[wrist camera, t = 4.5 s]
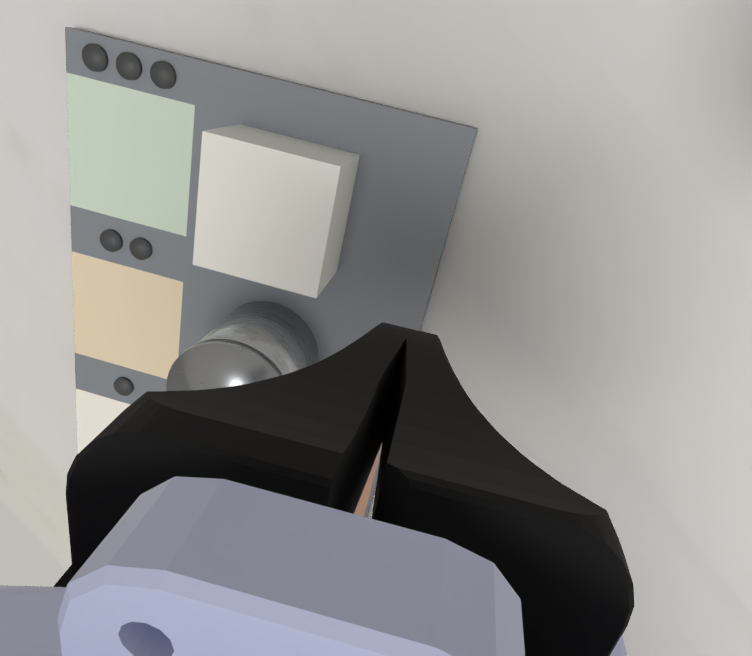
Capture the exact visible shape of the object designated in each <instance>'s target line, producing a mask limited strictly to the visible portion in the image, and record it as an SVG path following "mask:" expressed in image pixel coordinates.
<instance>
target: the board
mask: <svg viewBox="0 0 752 656" xmlns="http://www.w3.org/2000/svg"><path fill="white" fill-rule="evenodd" d="M65 36H66V70H67V104H68V138H69V172H70V205H71V239H72V273H73V307H74V340H75V374H76V408H77V442H78V453H80V452H81V451H82V450H83V449H84V448H85V447H86V446H87V445H88V444H89V443H90V442H91V441H92V440H93V439H94V438H95V437H96V436H97V435H99V434H100V433H101V432H102V431H103V430H104V429H105V428H106V427H107V426H108V425H109V424H110V423H111V422H112V421H113V420H114V419H115V418H116V417H117V416H118V415H120V414H121V413H122V412H123V411H124V410H125V409H126V408H127V407H128V406H130V405H131V404H132V403H133V402H135V401H136V400H137V399H138V398H139V397H141V396H142V395H143V394H144V393H146V392H147V391H166V383H167V377H168V373H169V370H170V368H171V366H172V364H173V363H174V362H175V360H176V359H177V358H178V357H179V356H180V355H181V354H182V353H183V352H184V351H185V350H187V349H188V348H189V347H191V346H192V345H194V344H196V343H198V342H199V341H201V340H202V339H203V338H204V337H205V336H206V335H207V334H208V333H209V332H210V331H211V330H212V329H213V328H215V327H216V326H217V325H218V324H219V323H220V322H221V321H222V320H223V319H224V318H225V317H226V316H227V315H229V314H230V313H231V312H232V311H233V310H234V309H236V308H237V307H239V306H241V305H243V304H246V303H249V302H254V301H268V302H273V303H277V304H280V305H282V306H284V307H287V308H289V309H290V310H292V311H293V312H295V313H296V314H297V315H299V316H300V317H301V318H302V319H303V320H304V321H305V322H306V324H307V325H308V326H309V328H310V329H311V331H312V333H313V335H314V337H315V340H316V343H317V347H318V362H319V361H321V360H323V359H325V358H327V357H329V356H331V355H333V354H335V353H336V352H338V351H340V350H342V349H343V348H345V347H346V346H348V345H349V344H351V343H353V342H354V341H356V340H357V339H359V338H360V337H362V336H363V335H364V334H366V333H367V332H369V331H370V330H371V329H373V328H374V327H375V326H377V325H379V324H380V323H382V322H384V323H388V324H393V325H397V326H401V327H405V328H409V329H413V330H417V331H420V329H421V325H422V322H423V318H424V315H425V311H426V307H427V304H428V300H429V297H430V293H431V290H432V286H433V283H434V279H435V276H436V272H437V269H438V265H439V262H440V258H441V255H442V251H443V248H444V244H445V241H446V237H447V234H448V230H449V226H450V223H451V219H452V216H453V212H454V209H455V205H456V202H457V198H458V195H459V191H460V188H461V184H462V181H463V177H464V174H465V170H466V167H467V163H468V160H469V156H470V153H471V149H472V145H473V142H474V138H475V135H476V131H477V128H474V127H470V126H466V125H462V124H458V123H454V122H450V121H446V120H442V119H438V118H434V117H430V116H426V115H422V114H418V113H414V112H410V111H406V110H402V109H398V108H394V107H390V106H386V105H382V104H378V103H374V102H370V101H366V100H362V99H358V98H354V97H350V96H346V95H342V94H338V93H334V92H330V91H326V90H322V89H318V88H314V87H310V86H306V85H302V84H298V83H294V82H290V81H286V80H282V79H278V78H274V77H270V76H266V75H262V74H258V73H254V72H250V71H246V70H242V69H238V68H233V67H229V66H225V65H221V64H217V63H213V62H209V61H205V60H201V59H197V58H193V57H189V56H185V55H181V54H177V53H173V52H169V51H165V50H161V49H157V48H153V47H149V46H145V45H141V44H137V43H133V42H129V41H125V40H121V39H117V38H113V37H109V36H105V35H101V34H97V33H93V32H89V31H85V30H81V29H77V28H70V27H65ZM238 124H242V125H246V126H249V127H253V128H257V129H261V130H265V131H269V132H273V133H277V134H281V135H285V136H289V137H292V138H296V139H300V140H304V141H308V142H312V143H316V144H320V145H324V146H328V147H332V148H335V149H339V150H343V151H347V152H351V153H355V154H359V155H360V157H359V162H358V167H357V172H356V177H355V182H354V187H353V192H352V197H351V202H350V207H349V212H348V218H347V223H346V228H345V233H344V238H343V243H342V248H341V253H340V258H339V263H338V268H337V272H336V273H335V274H334V276H333V277H332V278H331V280H330V281H329V282H328V284H327V285H326V286H325V288H324V289H323V290H322V292H321V293H320V294H319V296H318V297H317V298H313V297H309V296H305V295H302V294H298V293H294V292H291V291H287V290H284V289H280V288H276V287H273V286H269V285H265V284H262V283H258V282H254V281H251V280H247V279H243V278H240V277H236V276H232V275H229V274H225V273H222V272H218V271H214V270H211V269H207V268H203V267H200V266H196V265H193V252H194V238H195V224H196V211H197V197H198V184H199V170H200V156H201V143H202V131H205V130H210V129H216V128H221V127H227V126H233V125H238ZM380 455H381V454H380ZM379 462H380V458H379ZM379 462H378V465H377V469H376V473H375V477H374V480H373V484H372V488H371V492H370V495H369V499H368V503H367V507H366V510H365V514H364V516H363V517H367V515H368V512H369V508H370V505H371V501H372V498H373V494H374V491H375V487H376V484H377V477H378V469H379Z"/></svg>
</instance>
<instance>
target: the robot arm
mask: <svg viewBox="0 0 752 656" xmlns="http://www.w3.org/2000/svg"><path fill="white" fill-rule="evenodd" d="M381 444H382V448H381V455H380V462H379V469H378V477H377V484H376V491H375V499H374V506H373V513H372V519H370V518H367V517H363V516H359V515H356V514H354V512H355V510H356V507H357V505H358V502H359V500H360V497H361V495H362V492H363V490H364V487H365V485H366V482H367V480H368V477H369V474H370V472H371V469H372V467H373V464H374V462H375V459H376V457H377V454H378V452H379V449H380V447H381ZM66 501H67V513H68V524H69V535H70V546H71V558H72V565H71V566H70V567H69V569H68V570H67V571H66V572H65V573H64V575H63V576H62V577H61V578H60V579H59V581H58V582H57V583H56V584H55V586H54V587H35V586H0V656H627V653H626V649H625V645H624V641H623V637H622V634H623V632H624V630H625V629H626V627H627V625H628V622H629V619H630V616H631V613H632V611H633V608H634V592H633V582H632V579H631V576H630V572H629V569H628V566H627V562H626V559H625V556H624V553H623V550H622V547H621V544H620V541H619V539H618V536H617V534H616V532H615V529H614V527H613V525H612V523H611V520H610V518H609V515H608V513H607V510H605V509H603V508H602V507H600V506H598V505H597V504H595V503H593V502H591V501H590V500H588V499H586V498H585V497H583V496H581V495H580V494H578V493H576V492H575V491H573V490H571V489H570V488H568V487H566V486H565V485H563V484H561V483H560V482H558V481H557V480H555V479H554V478H553V477H551V476H550V475H549V474H547V473H546V472H544V471H543V470H542V469H540V468H539V467H537V466H536V465H535V464H533V463H532V462H531V461H530V460H528V459H527V458H526V457H525V456H523V455H522V454H521V453H520V452H519V451H518V450H517V449H515V448H514V447H513V446H512V445H511V444H510V443H509V442H508V441H507V440H506V439H504V438H503V437H502V436H501V435H500V434H499V433H498V432H497V431H496V430H495V429H494V428H493V427H492V425H491V424H490V423H489V422H488V421H487V420H486V418H485V417H484V416H483V415H482V414H481V413H480V412H479V410H478V409H477V408H476V407H475V405H474V404H473V403H472V401H471V400H470V398H469V397H468V395H467V394H466V392H465V391H464V389H463V388H462V386H461V384H460V382H459V381H458V379H457V377H456V375H455V373H454V371H453V369H452V367H451V365H450V363H449V361H448V359H447V357H446V354H445V352H444V349H443V347H442V344H441V341H440V339H439V338H438V336H437V335H434V334H430V333H426V332H422V331H417V330H413V329H409V328H405V327H401V326H397V325H393V324H388V323H384V322H382V323H380V324H379V325H377V326H375V327H374V328H373V329H371V330H370V331H369V332H367V333H366V334H364V335H363V336H362V337H360V338H359V339H357V340H356V341H354V342H353V343H351V344H349V345H348V346H346V347H345V348H343V349H342V350H340V351H338V352H336V353H335V354H333V355H331V356H329V357H327V358H325V359H323V360H321V361H319V362H317V363H315V364H312V365H310V366H308V367H305V368H302V369H299V370H297V371H294V372H291V373H288V374H285V375H281V376H277V377H273V378H269V379H265V380H261V381H257V382H253V383H249V384H243V385H237V386H231V387H223V388H214V389H204V390H186V391H147V392H146V393H144V394H143V395H142V396H141V397H139V398H138V399H137V400H136V401H135V402H133V403H132V404H131V405H130V406H128V407H127V408H126V409H125V410H124V411H123V412H122V413H121V414H120V415H118V416H117V417H116V418H115V419H114V420H113V421H112V422H111V423H110V424H109V425H108V426H107V427H106V428H105V429H104V430H103V431H102V432H101V433H100V434H99V435H97V436H96V437H95V438H94V439H93V440H92V441H91V442H90V443H89V444H88V445H87V446H86V447H85V448H84V449H83V450H82V451H81V452H80V453H78V454H77V455H76V457H75V459H74V461H73V463H72V465H71V467H70V469H69V471H68V474H67V486H66Z"/></svg>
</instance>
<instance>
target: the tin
mask: <svg viewBox="0 0 752 656" xmlns="http://www.w3.org/2000/svg"><path fill="white" fill-rule="evenodd" d="M317 362H318V347H317V343H316V340H315V337H314V335H313V333H312V331H311V329H310V328H309V326H308V325H307V324H306V322H305V321H304V320H303V319H302V318H301V317H300V316H299V315H297V314H296V313H295V312H293V311H292V310H290V309H289V308H287V307H284V306H282V305H280V304H277V303H273V302H268V301H254V302H249V303H246V304H243V305H241V306H239V307H237V308H236V309H234V310H233V311H232V312H231V313H230V314H229V315H227V316H226V317H225V318H224V319H223V320H222V321H221V322H220V323H219V324H218V325H217V326H216V327H215V328H213V329H212V330H211V331H210V332H209V333H208V334H207V335H206V336H205V337H204V338H203V339H202V340H201V341H199V342H198V343H196V344H194V345H192V346H191V347H189V348H188V349H187V350H185V351H184V352H183V353H182V354H181V355H180V356H179V357H178V358H177V359H176V360H175V362H174V363H173V364H172V366H171V368H170V370H169V373H168V377H167V383H166V391H186V390H204V389H214V388H223V387H231V386H237V385H243V384H249V383H253V382H257V381H261V380H265V379H269V378H273V377H277V376H281V375H285V374H288V373H291V372H294V371H297V370H299V369H302V368H305V367H308V366H310V365H312V364H315V363H317Z"/></svg>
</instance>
